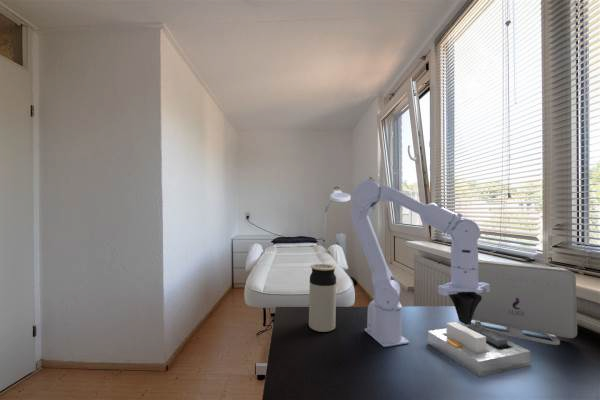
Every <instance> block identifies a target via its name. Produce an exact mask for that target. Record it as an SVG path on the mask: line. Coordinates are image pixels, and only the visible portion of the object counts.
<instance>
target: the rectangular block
mask: <svg viewBox="0 0 600 400" xmlns="http://www.w3.org/2000/svg"><path fill="white" fill-rule="evenodd" d="M465 326H466V325H463V324H461V323H460V322H459V323H458V322H456V321H454V322H446V337H447V338H449V339H452V340H454V341H456V342H458V343H459V344H461V345H463V347H465V348H467V349H468V350H470V351H472V352H474V353H475V354H482V353H486V337H485V336H483V335H481V334H479V333H477V332H475V331H473V330H471V329H469V328H467V327H465Z"/></svg>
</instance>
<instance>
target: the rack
mask: <svg viewBox="0 0 600 400" xmlns="http://www.w3.org/2000/svg"><path fill="white" fill-rule="evenodd" d="M464 326H465V327H467V328H469V329H471V330H473V331H475V332H477V333H479V334H481V335H483V336H485V337H486V353H482V354H475V353H474V352H472V351H470V350H468V349H467V348H465V347H463V345H461V344H459V343H458V342H456V341H454V340H452V339H449V338H447V337H446V328H439V329H434V330H433V329H432V330H427V344H428V345H430V346H431V347H433V348H434V349H436V350H438V352H440V353H443V354H444V355H445V356H446V357H448V358H449V359H451V360H453V361H454V362H456V363H457V364H459V365H460V366H462V367H463V368H465V369H466V370H469V371H470V373H472V374H475V375H476V376H477V377H479V378H480V377H485V376H490V375H495V374H499V373H502V372H507V371H511V370H515V369H520V368H525V367H530V366H531V365H532V364H531V363H532V361H531V360H532V358H531V357H532V356H531V350H529V349H527V348H524V346H523V347H522V346H521V345H518V344H517V343H514V342H512V341H509V340H508V338H506V337H503V336H501V335H500V334H497V333H493V332H491V331H489V330H486V329H484V328H485V327H484V328H482V327H480V326H478V325H476V324H468V325H466V324H465V325H464Z"/></svg>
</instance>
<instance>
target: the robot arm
mask: <svg viewBox="0 0 600 400" xmlns="http://www.w3.org/2000/svg"><path fill="white" fill-rule="evenodd" d="M352 194H353V195H352V196H353V198H352V203H351V207H350V212H349V215H350V218H351V221H352V224H353V226H354V230H355V232H356V234H357V237H358V241H359V243H360V245H361V249H362V251H363V254H364V257H365V259H366V262H367V265H368V267H369V270H370V272H371V279H372V280H371V282H372V286H373V290H374V292H373V299H372V300H371V301H370V302H369V304H368V306H367V321H366V322H367V323H366V324H367V325H366V326H367V327H366V328H364V332H366V333H367V334H368V335H369V336H371V337H372V338H373V339H374V340H375V341H376V342H378V343H379V344H380V345H381V346H382V347H384V348H386V347H387V348H388V347H393V346H399V345H405V344H406V345H407V344H409V343H410V341H409V339H408V338H406V337H404V336H403V335H402V334H403V332H402V331H403V330H402V323H403V322H402V321H403V320H402V316H403V313H402V310H403V309H402V308H403V306H402V304H401V302H400V295H401V292H402V288H401V285H400V283H399V281H398V280H397V279H395V278H394V276H393V273H392V271H391V269H390V268H389V266H388V264H387V262H386V261H387V260H386V259H385V255H384V252H383V250H382V248H381V246H380V243H379V240H378V237H377V234H376V232H375V229H374V227H373V224H372V222H371V218H370V213H371V212H372V210H373V209H374V207H375V205H377V204H378V203H379V202H392V203H394V204H397V205H399V206H401V207H402V208H405V209H407V210H409V211H411V212H414V213H416V214H417V215H419V217H420V221H421V222H422V223H424V224H425V225H428V226H430V227H432V228H433V229H435V230H438V231H439V232H441V233H443V234H449V235H450V237H451V247H450V282H447V283H445V284H441V285H438V286H437V291H438V292H437V294H438V295H441V296H443V297H449V298H450V300H451V301H452V303H453V305H454V308H455V311H456V314H457V318H458V322H459V323H462V324H464V325H465V326H466V325H472V324H471V323H472V321H473V320H472V317H473V314H474V311H475V309H476V307H477V305H478V304H479V302H480V301H481V300H482V296H481V295H478V294H476V293H482V291H485V292H490V284H487V283H484V282H478V260H479V248H478V245H479V244H478V240H479V239H480V237H481V235H482V231H481V230H480V227H479V226H478V223H476V222H475V221H473V220H472V219H468V218H465V217H463V214H462V213H459V212H458V213H456V212H453V211H452V210H449V209H447V208H445V207H444V204H443V203H440V202H438V203H437V204H436V203H435V202H430V203H427V204H424V203H423V202H421V201H419V200H417V199H415V198H413V197H411V196H409V195H407V194H405V193H404V192H403V191H400V190H397V189H396V188H394V187H392V186H389V185H386V184H384V183H381V182H378V183H377V182H376V181H375V180H372V179H363V180H361V181H360V182H359V183H358V184H357V186H356V187H355V189H354V190H353V192H352Z"/></svg>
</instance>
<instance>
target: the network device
mask: <svg viewBox="0 0 600 400" xmlns="http://www.w3.org/2000/svg"><path fill="white" fill-rule="evenodd" d="M478 282H484V283H487V284H490V292H485V291H482V293H476V294H478V295H481V296H482V300H481V301H480V302H479V304H478V305H477V307H476V309H475V311H474V314H473V317H472V321H474V323H475V325H478V326H480V327H482V328H484V329H486V330H489V331H491V332H493V333H495V334H497V335H503V336H507V337H512V338H519V339H521V340H522V339H523V340H527V341H532V342H538V343H542V344H547V345H553V346H554V345H555V346H559V345H561V340H560V339H559V338H558V337H562V338H568V339H573V338H576V337H577V335H578V314H577V313H578V310H577V309H578V306H577V305H578V304H577V276H576V274H575V273H574V272H573V271H571V270H568V269H566V268H564V267H557V266H547V265H545V266H544V265H535V264H534V265H533V264H526V263H525V264H523V263H513V262H505V261H504V262H502V261H494V260H493V261H492V260H491V261H490V260H481V259H478ZM480 321H481V322H482V323H487V324H492V325H498V326H503V327H505V328H506V329H507V331H508V332H507V331H503V330H497V329H492V328H488V327H485V326H482V323H481V322H480ZM523 331H530V332H535V333H541V334H545V335H547V336H548V337H549V338H550V339H551V340H549V339H543V338H540V337H533V336H528V335H525V334H524V333H523Z"/></svg>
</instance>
